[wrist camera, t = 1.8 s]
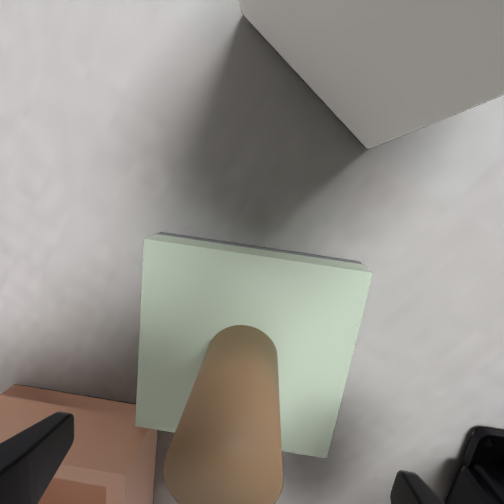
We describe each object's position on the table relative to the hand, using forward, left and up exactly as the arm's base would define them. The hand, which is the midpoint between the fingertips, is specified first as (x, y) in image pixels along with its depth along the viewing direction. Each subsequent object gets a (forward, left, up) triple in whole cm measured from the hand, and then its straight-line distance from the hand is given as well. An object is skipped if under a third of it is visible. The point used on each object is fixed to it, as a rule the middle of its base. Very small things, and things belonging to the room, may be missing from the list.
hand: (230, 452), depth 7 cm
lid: (0, 0, -6) cm, 6 cm away
